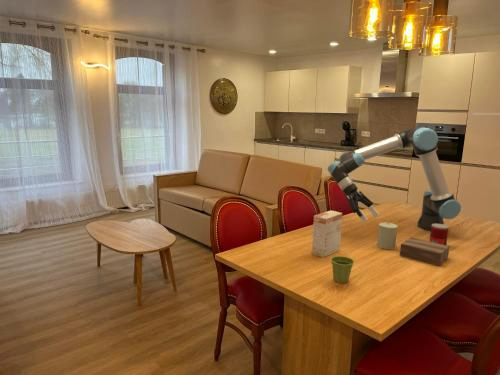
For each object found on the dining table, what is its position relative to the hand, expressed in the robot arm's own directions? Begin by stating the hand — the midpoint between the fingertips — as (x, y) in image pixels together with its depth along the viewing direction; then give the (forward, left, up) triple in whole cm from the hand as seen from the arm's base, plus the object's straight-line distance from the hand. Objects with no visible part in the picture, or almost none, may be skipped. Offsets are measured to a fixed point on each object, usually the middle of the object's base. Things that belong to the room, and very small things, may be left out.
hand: (371, 218), depth 197 cm
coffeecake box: (+30, -9, -13) cm, 34 cm away
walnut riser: (+1, +28, -13) cm, 31 cm away
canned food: (-21, +28, -13) cm, 38 cm away
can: (0, +9, -13) cm, 16 cm away
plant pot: (+53, +12, -13) cm, 56 cm away
